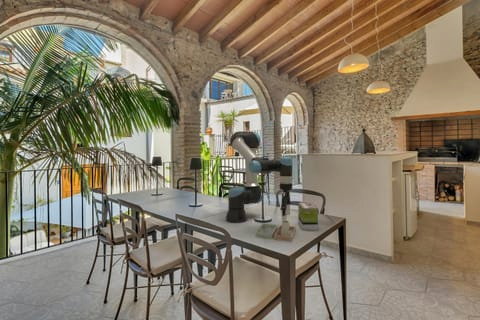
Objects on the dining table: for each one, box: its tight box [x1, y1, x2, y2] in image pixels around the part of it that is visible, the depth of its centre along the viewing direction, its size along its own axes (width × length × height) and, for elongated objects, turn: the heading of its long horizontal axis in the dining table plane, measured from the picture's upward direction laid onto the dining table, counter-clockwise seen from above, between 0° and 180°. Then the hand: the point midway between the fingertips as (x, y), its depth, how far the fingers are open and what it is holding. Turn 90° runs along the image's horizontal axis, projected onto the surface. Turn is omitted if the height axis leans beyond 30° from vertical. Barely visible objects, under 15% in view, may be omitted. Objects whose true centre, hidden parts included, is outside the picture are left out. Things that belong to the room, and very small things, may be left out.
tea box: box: [297, 201, 319, 231], centre depth 163 cm, size 15×10×15 cm
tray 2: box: [273, 224, 297, 242], centre depth 149 cm, size 10×18×2 cm, turn 160°
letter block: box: [281, 220, 290, 236], centre depth 149 cm, size 4×4×8 cm
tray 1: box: [254, 222, 279, 240], centre depth 153 cm, size 10×18×2 cm, turn 160°
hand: (285, 217), depth 148 cm, fingers open, 13 cm apart
